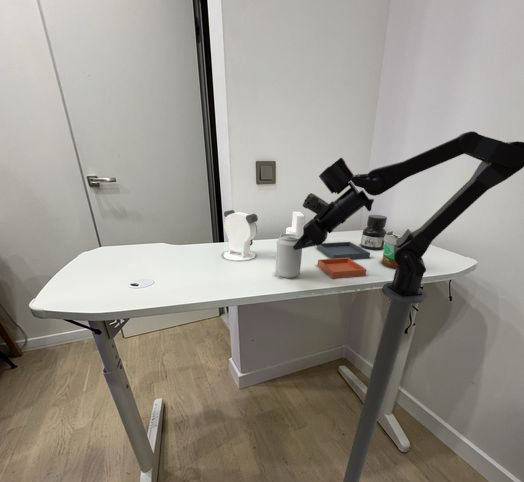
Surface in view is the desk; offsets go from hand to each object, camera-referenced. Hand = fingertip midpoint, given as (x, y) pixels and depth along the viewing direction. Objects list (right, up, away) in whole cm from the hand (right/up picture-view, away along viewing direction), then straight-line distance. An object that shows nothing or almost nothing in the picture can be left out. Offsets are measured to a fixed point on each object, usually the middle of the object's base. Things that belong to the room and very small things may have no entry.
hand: (298, 244), depth 84 cm
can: (-3, -8, +5) cm, 10 cm away
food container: (+33, -4, +15) cm, 36 cm away
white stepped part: (+3, +7, +34) cm, 35 cm away
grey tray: (+20, +2, +25) cm, 32 cm away
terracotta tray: (+15, -7, +10) cm, 19 cm away
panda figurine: (-18, 0, +20) cm, 27 cm away
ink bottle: (+34, +5, +33) cm, 48 cm away
